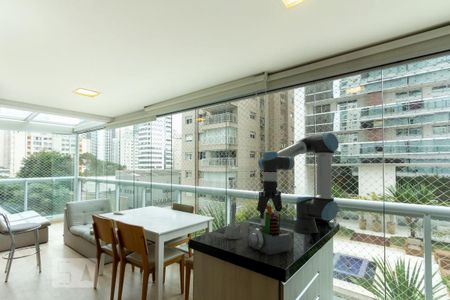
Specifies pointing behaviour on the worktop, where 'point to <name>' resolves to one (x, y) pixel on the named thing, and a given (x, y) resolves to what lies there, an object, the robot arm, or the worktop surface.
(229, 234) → the engine component
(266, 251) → the flange bracket
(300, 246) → the worktop surface
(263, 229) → the motor
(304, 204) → the robot arm
